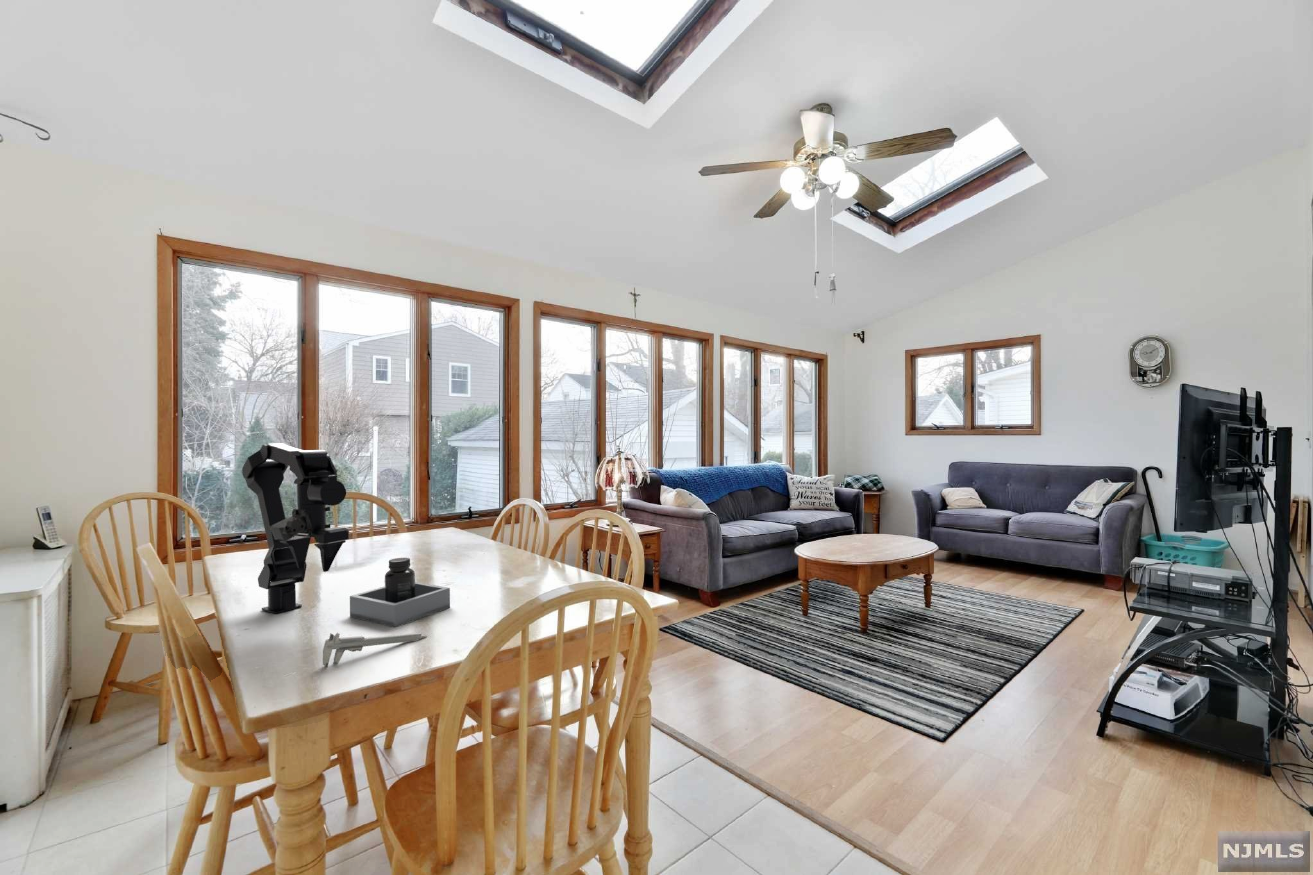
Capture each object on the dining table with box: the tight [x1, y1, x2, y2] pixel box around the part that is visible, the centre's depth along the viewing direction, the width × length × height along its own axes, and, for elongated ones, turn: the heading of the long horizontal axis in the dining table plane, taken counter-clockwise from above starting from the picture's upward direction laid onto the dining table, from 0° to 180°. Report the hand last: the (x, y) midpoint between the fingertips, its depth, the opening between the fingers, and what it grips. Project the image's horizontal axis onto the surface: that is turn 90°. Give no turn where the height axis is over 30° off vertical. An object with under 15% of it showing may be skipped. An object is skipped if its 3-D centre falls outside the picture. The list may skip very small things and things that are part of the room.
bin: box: [349, 581, 451, 628], centre depth 140 cm, size 16×16×5 cm
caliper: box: [322, 632, 428, 668], centre depth 116 cm, size 20×1×6 cm, turn 141°
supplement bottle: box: [384, 557, 416, 603], centre depth 140 cm, size 7×7×12 cm
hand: (313, 569), depth 134 cm, fingers open, 9 cm apart
